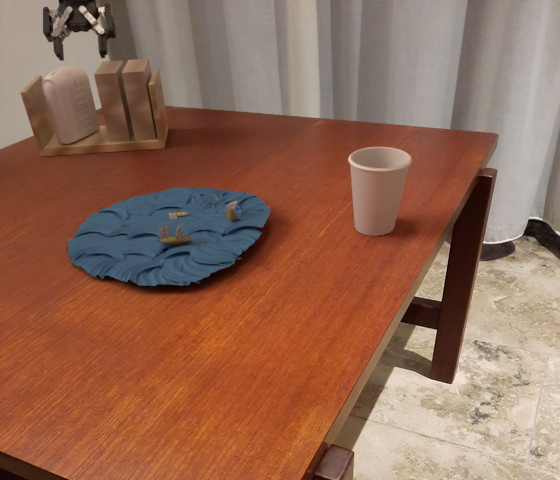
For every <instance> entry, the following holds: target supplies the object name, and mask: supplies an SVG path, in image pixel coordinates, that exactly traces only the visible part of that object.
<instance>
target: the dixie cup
mask: <svg viewBox="0 0 560 480" xmlns="http://www.w3.org/2000/svg"><path fill="white" fill-rule="evenodd" d="M412 161H413V158H412V156H411V155H410V153H408V152H406V151H405V150H403V149H399V148H395V147H391V146H390V147H388V146H369V147H363V148H360V149H357V150H354V151H353V152H351V154H350V155H349V156H348V163H349V166H350V179H351V193H352V195H351V196H352V207H353V221H354V229H355V228H356V229H355V231H357V232H358V233H359V234H362V235H366V236H370V237H380V235H381V236H385V235H384V234H386V235H388V234H387V233H389V234H390V233H392V232H393V231H394V229H395V225H396V221H397V217H398V213H399V209H400V205H401V200H402V197H403V192H404V188H405V184H406V180H407V175H408V171H409V168H410V165H411V164H412V163H413V162H412ZM392 230H393V231H392ZM391 231H392V232H391ZM378 235H379V236H378Z"/></svg>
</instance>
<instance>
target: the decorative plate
mask: <svg viewBox="0 0 560 480" xmlns="http://www.w3.org/2000/svg"><path fill="white" fill-rule="evenodd" d="M271 210H272V209H271V206H268V205H267V204H266V203H265V202H264V201H263V199H261V198H260V197H258V196H256V195H255V194H254V193H246V192H245V191H240V190H239V191H236V190H227V189H218V188H215V187H213V188H211V187H200V186H195V187H194V186H192V187H189V186H185V187H181V186H180V187H179V186H176V187H175V186H174V187H170V188H167V189H165V190H157V191H155V192H152V193H146V194H143V195H135V196H133V197H129V198H128V199H123V200H122V201H116V202H114V203H113V204H111V205H110V206H106V207H102V208H101V209H100V211H96V212H94V213H91V214H90V215H89V216H88V217H87V219H86V220H85V221H84V222H83V223H81V224H80V225H79V227H78V230H76V231H75V232H74V237H71V238H69V239H68V241H67V246H68V248H67V253H68V257H69V258H71V260H70V262H72V264H74V265H75V266H77V267H81V268H82V270H84V271H85V272H86V273H88V274H89V275H90V276H93V277H94V278H95V277H97V276H98V277H100V279H101V280H104V277H107V276H109V277H110V278H114V279H116V280H119V281H121V282H125V283H128V281H130V282H131V283H134V284H136V285H137V286H142V287H143V286H144V287H146V286H149V287H156V286H157V285H164V286H165V285H170V286H171V285H172V286H179V287H180V286H181V287H183V286H189V285H190V284H191V283H195V284H197V285H199V284H201V282H200V281H201V280H204V279H205V278H208V277H210V275H211V274H212V273H216V272H218V271H220V270H223V269H226V268H230V267H231V266H232V265H235V264H236V260H237V261H238V260H242V257H240V255H242V253H243V252H247V250H248V249H249V248H250V247H252V246H254V244H255V243H256V241H257V240H258V239H259V238H260V236H261V235H262V233H263V232H261V231H260V230H258V229H257V228H260V229H262V228H264V226H265V225H266V224H267V220H268V218H270V214H271Z"/></svg>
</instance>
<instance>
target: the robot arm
mask: <svg viewBox="0 0 560 480" xmlns="http://www.w3.org/2000/svg"><path fill="white" fill-rule="evenodd" d="M100 16H102V17H103V19H104V20H105V22H106V28H103V27H102V26H101V25H100V24H99V22H98V20H99V18H100ZM57 18H59V20H58V21H57ZM56 21H57V22H56ZM54 24H56V27H55V28H54ZM90 30H91V31H92V33H94V34H95V35H96V36H97V45H98V53H99V56H100V58H101V59H106V56H108V54H109V50H108V49H109V48H108V40H110V39H116V37H117V33H116V31H117V30H116V24H115V17H114V12H113V9H112V7H111V4H110V3H108V2H106V3H104V5H103V6H99V7H98V1H97V0H58V7H57V8H56V9H50V8H49V7H48V6H44V7H43V8H42V33H43V36H44V37H45V39H46V40H47V42H48V43H52V44H53V53H54V55H55V56H56V58H57V59H58V60H59V61H60V62H62V61H65V55H64V54H65V53H64V52H65V51H64V44H63V42H64V41H65V40H66V38H69V37H70V35H71V34H72V33H75V34H76V33H80V32H82V33H89V32H90Z"/></svg>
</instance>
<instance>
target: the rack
mask: <svg viewBox="0 0 560 480" xmlns="http://www.w3.org/2000/svg"><path fill="white" fill-rule="evenodd" d="M93 77H94V81H95V86H96V90H97V95H98V98H99V102H100V107H101V112H102V115H103V120H104V124H105V125H100V129H99V130H97V131H96V132H94V133H91V134H89V135H87V136H85V137H83V138H81V139H79V140H77V141H75V142H72V143H71V144H63V143H60V142H59V141H58V140H57V138H56V135H55V131H54V128H53V124H52V121H51V117H50V114H49V110H48V107H47V103H46V100H45V96H44V93H43V89H42V82H43V80H44V78H43V76H42V75H36V76H35V77H34V78H33V79H32V80H30V81H29V83H28V84H27V85H26V86H25V87H24V88H22V90H21V91H20V93H19V94H20V96H21V100H22V103H23V105H24V109H25V112H26V116H27V119H28V121H29V124H30V128H31V131H32V134H33V137H34V140H35V144H36V147H37V150H38V153H39V156H40V157H42V158H43V157H55V156H56V157H57V156H73V155H85V154H100V153H101V154H102V153H117V152H131V151H144V150H145V151H146V150H147V151H148V150H163V149H165V148H166V143H167V138H168V135H169V122H168V117H167V110H166V103H165V97H164V92H163V85H162V79H161V73H160V68H154V69H153V71H152V69H151V62H150V58H140V59H139V58H138V59H128V60H127V61H126V63H124V60H123V59H122V60H120V59H119V60H106V61H102V62H101V63H100V65H99V66H98V68H97V69H96V71H95V72H94V73H93Z"/></svg>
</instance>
